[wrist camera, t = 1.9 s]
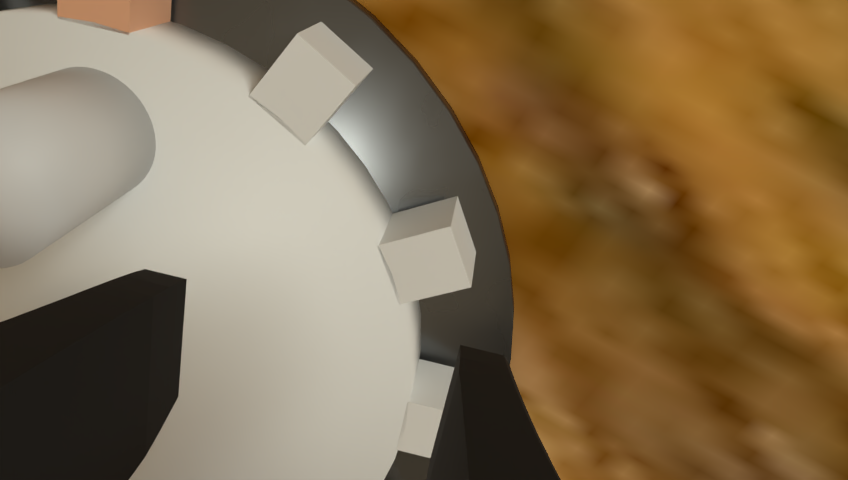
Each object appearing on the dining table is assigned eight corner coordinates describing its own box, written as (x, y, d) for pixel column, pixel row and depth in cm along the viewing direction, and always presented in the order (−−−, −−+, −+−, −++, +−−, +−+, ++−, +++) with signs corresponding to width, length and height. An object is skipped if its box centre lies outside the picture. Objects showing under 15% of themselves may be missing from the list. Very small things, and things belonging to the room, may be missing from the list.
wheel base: (426, 637, 26) (421, 679, 24) (-201, 478, 26) (-243, 510, 25) (618, 3, 17) (628, 10, 15) (-350, -215, 17) (-431, -228, 16)
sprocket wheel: (406, 634, 25) (374, 835, 19) (-160, 490, 25) (-346, 646, 20) (576, 35, 16) (604, 91, 11) (-281, -160, 17) (-664, -200, 11)
